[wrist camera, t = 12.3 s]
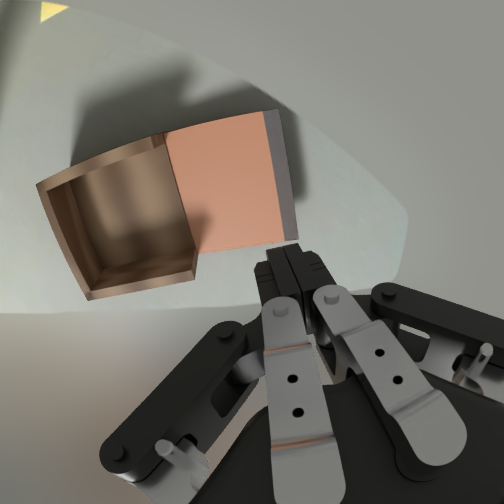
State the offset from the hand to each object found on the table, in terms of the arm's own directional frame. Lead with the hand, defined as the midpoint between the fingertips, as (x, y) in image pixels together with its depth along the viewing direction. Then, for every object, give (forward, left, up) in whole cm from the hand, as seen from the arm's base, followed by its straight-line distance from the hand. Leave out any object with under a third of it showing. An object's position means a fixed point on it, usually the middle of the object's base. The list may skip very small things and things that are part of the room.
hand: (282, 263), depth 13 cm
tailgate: (-8, -1, -18) cm, 20 cm away
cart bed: (-15, -1, -21) cm, 26 cm away
